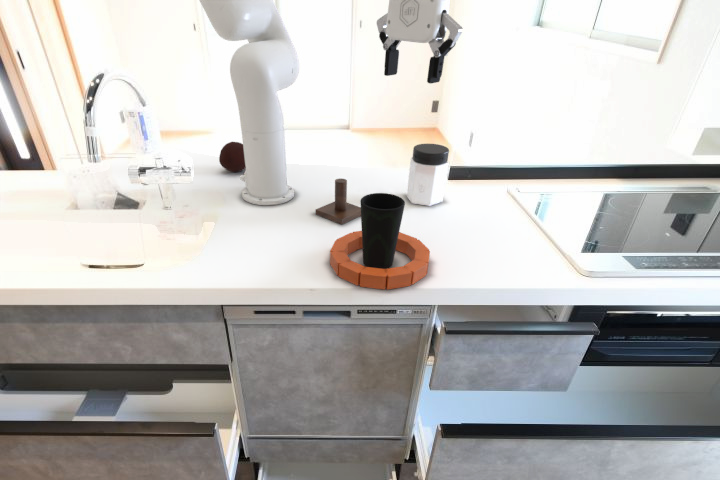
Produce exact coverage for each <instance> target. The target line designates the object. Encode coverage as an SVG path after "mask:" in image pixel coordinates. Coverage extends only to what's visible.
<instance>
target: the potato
mask: <svg viewBox="0 0 720 480" xmlns="http://www.w3.org/2000/svg"><path fill="white" fill-rule="evenodd" d="M218 159H219V164H220V166H221V167H222V168H223V169H224V170H226V171H229V172H233V173H239V172H242V171H244V170H246V167H245V158H244V149H243V142H238V141H230V142H227V143H225V144H224V145H223V146H222V148H221V150H220V153H219V157H218Z"/></svg>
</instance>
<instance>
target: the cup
mask: <svg viewBox="0 0 720 480" xmlns="http://www.w3.org/2000/svg"><path fill="white" fill-rule="evenodd" d="M359 201H360V203H359V204H360V207H361V216H360V223H361V224H360V225H361V231H362V248H363V249H362V263H363V264H362V265H363V266H365V267H372V268H380V269H388V268H392V267H393V265H394V264H393V263H394V259H395V254H396V250H395V249H396V245H397V240H398V235H399V232H400V230H401V225H402V220H403V215H404V210H405V206H406V201H405V200H404V199H403V197H401V196H399V195H396V194H394V193H393V194H392V193H386V192H374V193H368V194H366V195H364V196H362V197H361V198H360V200H359Z"/></svg>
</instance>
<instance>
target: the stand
mask: <svg viewBox="0 0 720 480" xmlns="http://www.w3.org/2000/svg"><path fill="white" fill-rule="evenodd" d="M347 191H348V180H347V179H346V178H336V179H335V180H334V201H332V202H330V203H327V204H325V205H322V206H320V207H318V208H315V216H316V215H317V216H318V217H321V218H324V219H327V220H329V221H332V222H334V223H336V224H339V225H344V224H347V223H349V222H351V221H353V220H355V219H357V218H359V217H361V206H358V205H355V204H352V203H349V202H347V196H348V195H347V193H348V192H347Z"/></svg>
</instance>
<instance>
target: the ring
mask: <svg viewBox="0 0 720 480" xmlns="http://www.w3.org/2000/svg"><path fill="white" fill-rule="evenodd" d="M359 250H363V248H362V230H357V231H352V232H349V233H347V234H344V235H342V236H340V237H339V238H337V239H336V240H334V242H333V244H332V245H331V248H330V251H329V264H330V267H331V268H332V269H333V271H334V273H335V274H336V276H337V277H338V278H340V279H342V280H344V281H346V282H348V283H350V284H353V285H355V286H359V287H361V288H368V289H377V290H394V289H400V288H406V287H411V286H413V285H414V284H416V283H418V282H419V281H421V280H422V279H424V278H425V277H426V276H427V274H428V269H429V264H430V256H431V255H430V252H431V251H430V249H429V248H428V246H426V245H425V244H424V243H423V242H422V241H421V240H420V239H418V238H417V237H414V236H411V235H408V234H406V233H403V232H400V231H399V235H398V240H397V245H396V249H395V251H397V252H400V253H402V254H405V255H406V256H407V257H408V258H409V259H410V260H411V261H409V262H407V263H406V264H405V265H401V266H395V267H390V268H388V269H380V268H372V267H366V266H365V265H364V264H360V263H358V262H356V261H353V260H351V258H350V256H348V255H351V254H352V253H354V252H356V251H359Z"/></svg>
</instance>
